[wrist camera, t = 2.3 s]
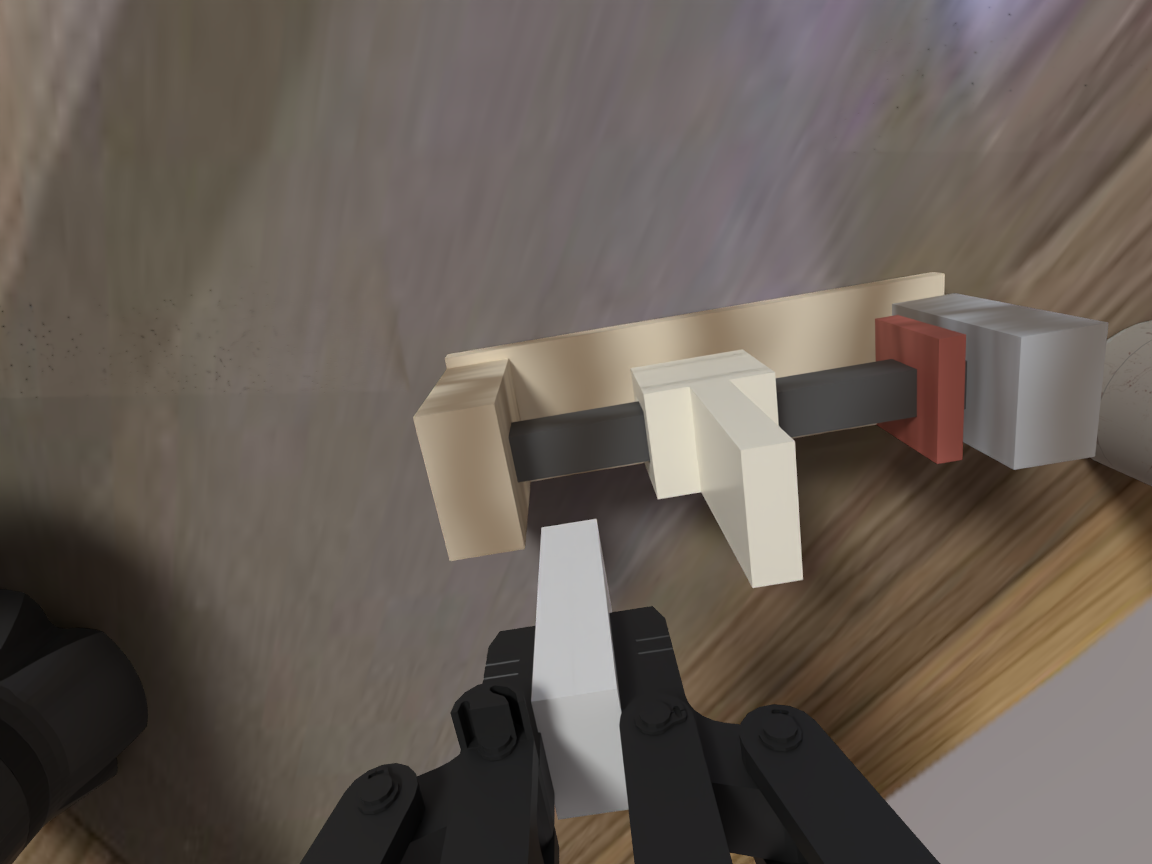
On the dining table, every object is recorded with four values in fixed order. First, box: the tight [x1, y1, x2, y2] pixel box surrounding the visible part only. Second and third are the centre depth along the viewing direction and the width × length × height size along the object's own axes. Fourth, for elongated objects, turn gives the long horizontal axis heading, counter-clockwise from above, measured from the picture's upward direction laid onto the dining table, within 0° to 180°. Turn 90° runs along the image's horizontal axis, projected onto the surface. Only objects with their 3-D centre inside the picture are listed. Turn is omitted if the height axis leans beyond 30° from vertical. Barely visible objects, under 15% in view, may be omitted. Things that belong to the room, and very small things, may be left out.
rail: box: [413, 272, 1108, 561], centre depth 28 cm, size 24×7×10 cm, turn 99°
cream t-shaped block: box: [630, 349, 803, 588], centre depth 24 cm, size 5×4×11 cm
